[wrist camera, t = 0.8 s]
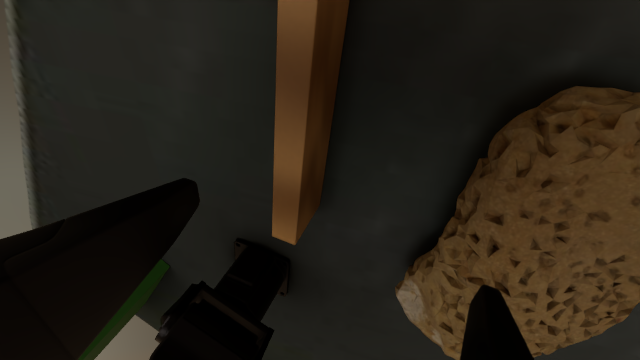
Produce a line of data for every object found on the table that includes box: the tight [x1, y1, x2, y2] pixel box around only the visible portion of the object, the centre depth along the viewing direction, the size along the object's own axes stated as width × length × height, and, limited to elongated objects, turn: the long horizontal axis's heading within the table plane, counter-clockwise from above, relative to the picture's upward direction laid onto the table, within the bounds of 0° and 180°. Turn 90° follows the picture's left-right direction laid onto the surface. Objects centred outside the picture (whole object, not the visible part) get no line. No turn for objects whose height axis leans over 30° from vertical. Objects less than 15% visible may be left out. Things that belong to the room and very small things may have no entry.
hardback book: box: [78, 259, 170, 360], centre depth 44 cm, size 18×7×24 cm, turn 145°
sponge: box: [395, 86, 640, 360], centre depth 21 cm, size 13×8×20 cm
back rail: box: [272, 0, 349, 245], centre depth 20 cm, size 26×2×5 cm, turn 173°
